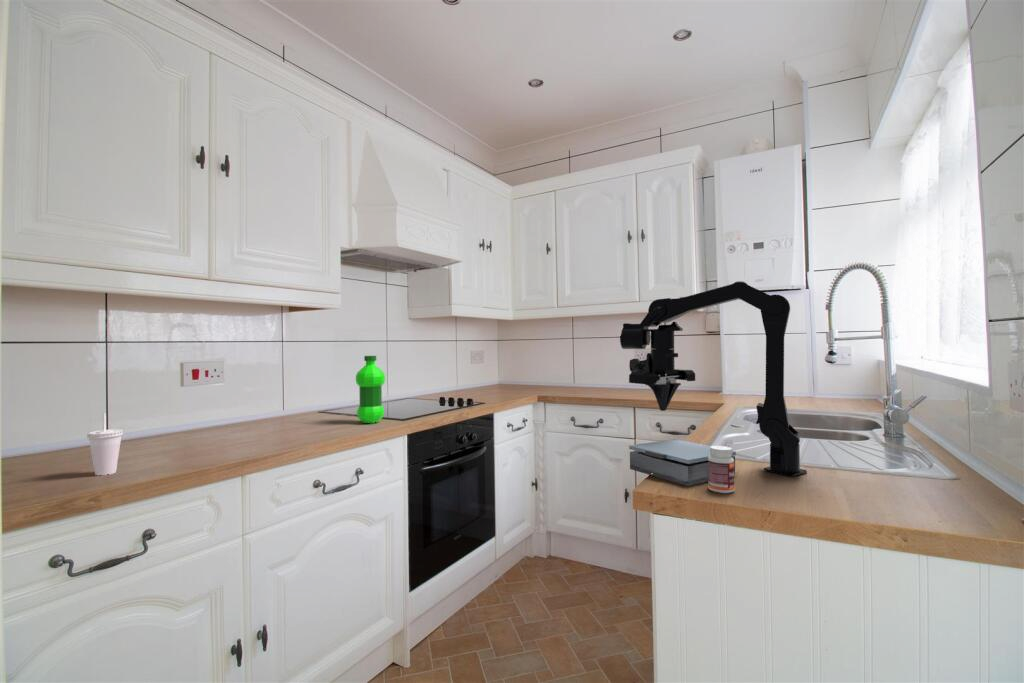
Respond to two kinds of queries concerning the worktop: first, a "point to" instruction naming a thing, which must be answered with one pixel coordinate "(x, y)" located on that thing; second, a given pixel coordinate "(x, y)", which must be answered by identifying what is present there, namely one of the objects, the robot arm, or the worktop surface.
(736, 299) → the robot arm
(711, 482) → the pill bottle
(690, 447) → the lid
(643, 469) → the grey lidded case
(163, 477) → the worktop surface
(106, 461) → the smoothie
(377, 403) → the plastic bottle
